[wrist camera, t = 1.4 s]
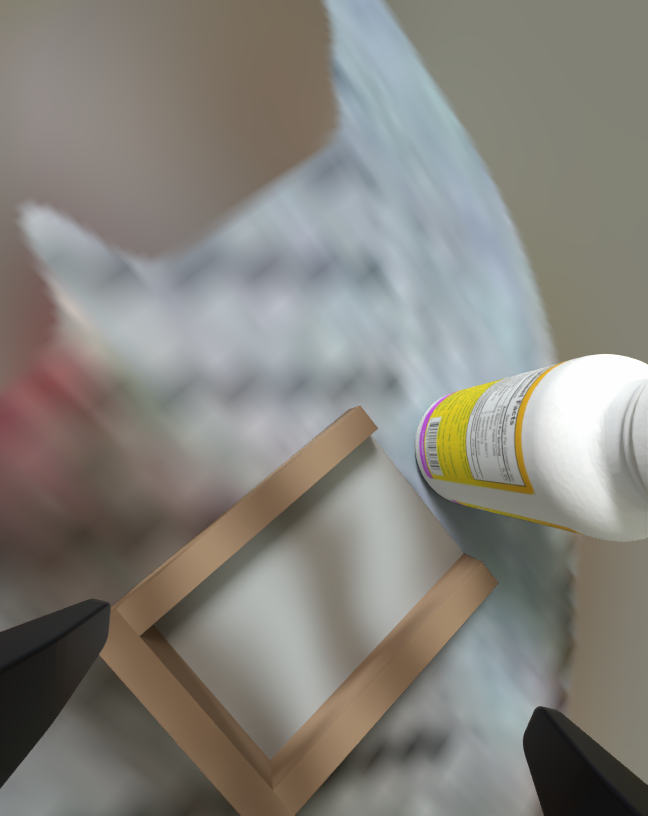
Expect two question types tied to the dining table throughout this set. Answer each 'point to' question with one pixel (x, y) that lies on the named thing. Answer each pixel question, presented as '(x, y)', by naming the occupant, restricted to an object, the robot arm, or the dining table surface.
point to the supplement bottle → (547, 447)
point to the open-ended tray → (295, 620)
